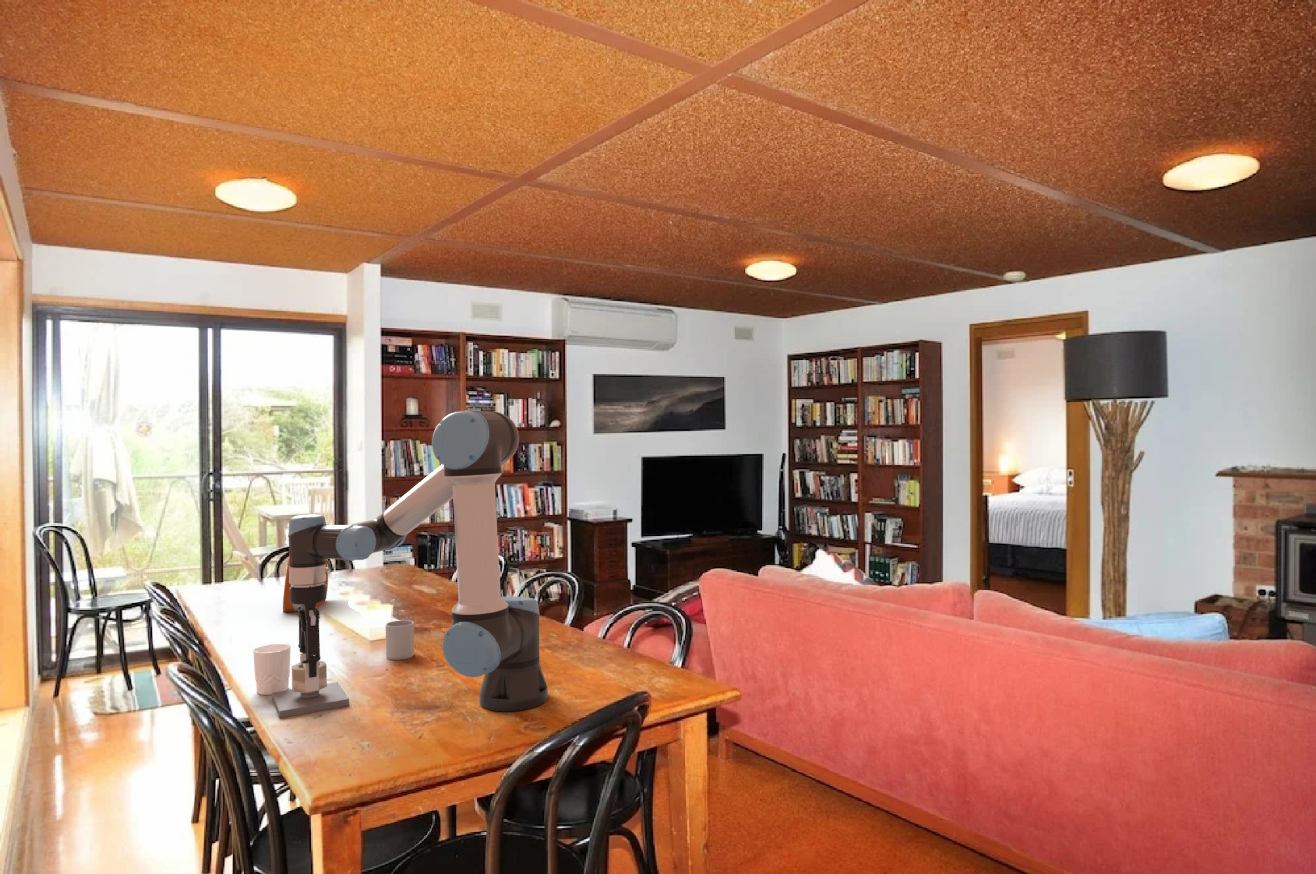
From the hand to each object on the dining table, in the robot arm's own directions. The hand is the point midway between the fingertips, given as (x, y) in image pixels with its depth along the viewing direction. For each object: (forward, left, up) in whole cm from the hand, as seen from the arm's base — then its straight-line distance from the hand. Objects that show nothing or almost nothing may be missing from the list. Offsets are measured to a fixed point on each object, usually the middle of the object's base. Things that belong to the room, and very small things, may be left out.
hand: (309, 686), depth 179 cm
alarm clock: (+106, -13, -4) cm, 107 cm away
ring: (0, 0, 0) cm, 0 cm away
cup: (+27, -26, -4) cm, 38 cm away
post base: (0, 0, -4) cm, 4 cm away
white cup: (+14, +6, -4) cm, 16 cm away
